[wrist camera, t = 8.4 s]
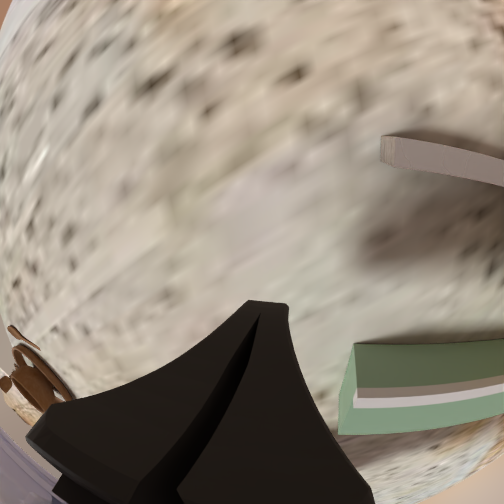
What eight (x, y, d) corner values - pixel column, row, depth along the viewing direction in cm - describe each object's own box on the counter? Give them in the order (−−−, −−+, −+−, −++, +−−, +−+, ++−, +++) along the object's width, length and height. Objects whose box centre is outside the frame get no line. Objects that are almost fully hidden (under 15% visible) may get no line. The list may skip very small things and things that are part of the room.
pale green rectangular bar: (519, 377, 12) (534, 409, 8) (338, 395, 15) (337, 443, 12) (546, 332, 10) (566, 364, 7) (353, 343, 13) (357, 397, 10)
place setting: (94, 425, 31) (76, 452, 25) (19, 372, 34) (2, 390, 28) (51, 348, 23) (20, 381, 18) (-18, 296, 26) (-42, 314, 21)
